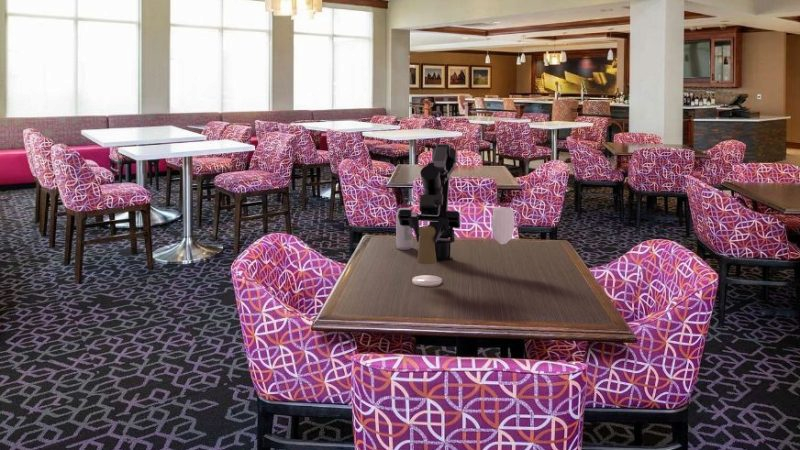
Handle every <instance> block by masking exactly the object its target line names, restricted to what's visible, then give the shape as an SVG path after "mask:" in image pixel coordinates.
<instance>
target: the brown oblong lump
mask: <svg viewBox="0 0 800 450" xmlns="http://www.w3.org/2000/svg"><path fill="white" fill-rule="evenodd" d="M419 227H420V228H419V242H418V243H419V245H418V251H417V260H416V263H418V264H419V265H434V264H437V262H438V261H437V260H436V252H435V244H434V236H435V233H436V230H435V228H434V227H432V226H428V225H424V226H422V225H421V226H419Z"/></svg>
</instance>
